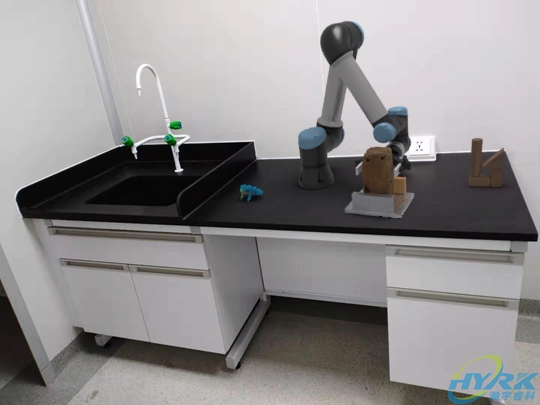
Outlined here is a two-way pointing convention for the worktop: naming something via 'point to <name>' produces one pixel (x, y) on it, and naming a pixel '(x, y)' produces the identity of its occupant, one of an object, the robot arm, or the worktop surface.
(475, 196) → the worktop surface
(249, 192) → the blue bumpy figure
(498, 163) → the wooden block structure
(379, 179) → the block
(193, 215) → the worktop surface
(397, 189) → the block
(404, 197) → the base
